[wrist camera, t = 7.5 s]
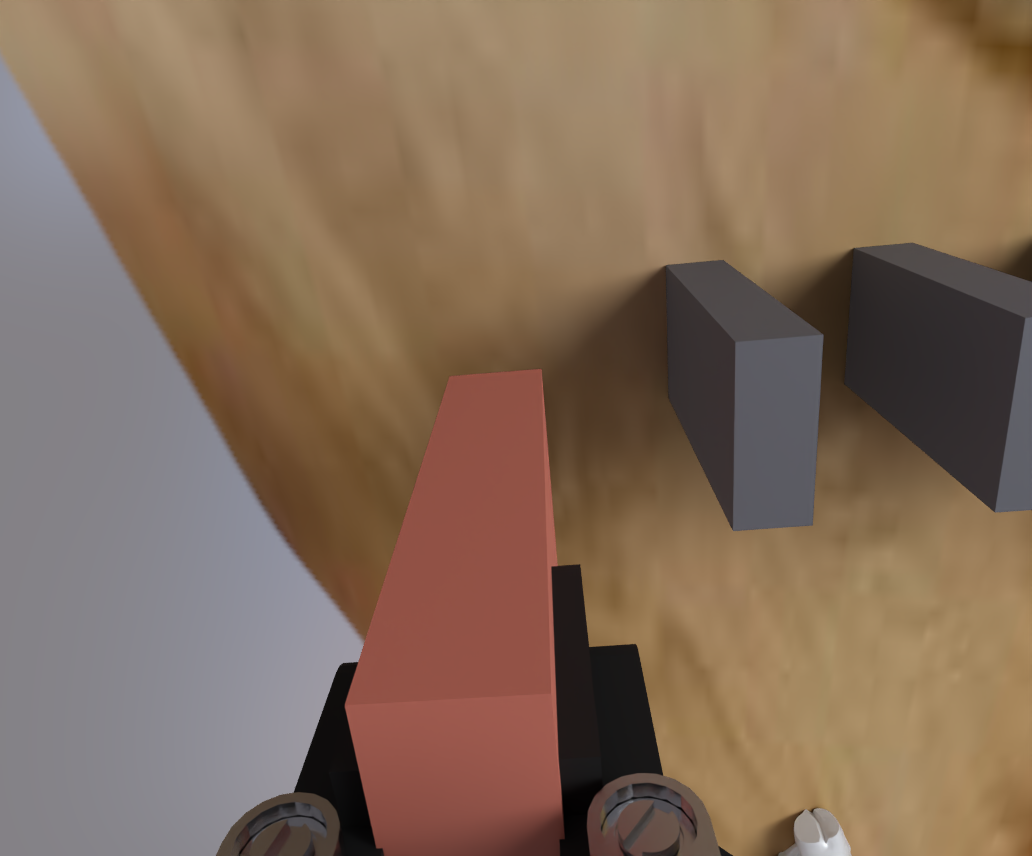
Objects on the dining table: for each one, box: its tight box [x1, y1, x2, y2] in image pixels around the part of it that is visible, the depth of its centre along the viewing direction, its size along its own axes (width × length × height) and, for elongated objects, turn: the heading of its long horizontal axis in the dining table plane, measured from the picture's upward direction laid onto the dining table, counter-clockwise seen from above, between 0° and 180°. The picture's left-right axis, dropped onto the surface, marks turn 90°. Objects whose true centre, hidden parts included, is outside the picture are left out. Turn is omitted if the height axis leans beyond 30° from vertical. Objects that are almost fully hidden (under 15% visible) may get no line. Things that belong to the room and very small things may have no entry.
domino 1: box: [666, 260, 823, 531], centre depth 23 cm, size 2×5×10 cm, turn 5°
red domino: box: [345, 369, 565, 856], centre depth 13 cm, size 2×5×10 cm, turn 5°
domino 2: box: [844, 243, 1032, 512], centre depth 23 cm, size 2×5×10 cm, turn 5°
